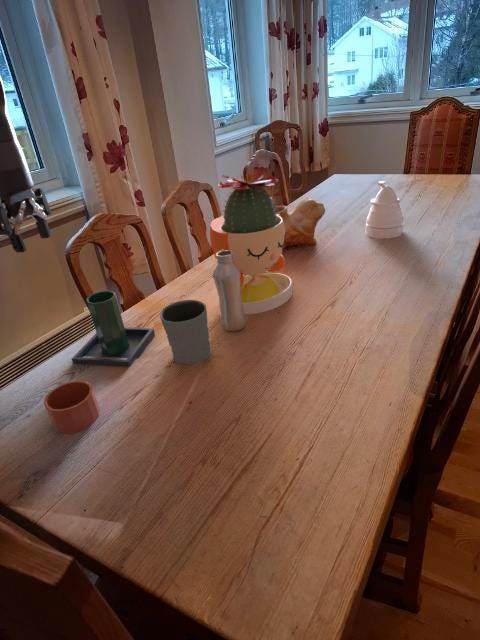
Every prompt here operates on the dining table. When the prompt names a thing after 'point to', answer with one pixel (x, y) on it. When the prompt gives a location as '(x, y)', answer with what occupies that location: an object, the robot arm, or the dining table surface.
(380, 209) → the honey pot
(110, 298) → the tall cup
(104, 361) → the tray
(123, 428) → the dining table surface
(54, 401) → the short cup
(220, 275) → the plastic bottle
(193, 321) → the grey cup
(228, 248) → the potted cactus
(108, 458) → the dining table surface
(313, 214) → the tan lumpy piece
